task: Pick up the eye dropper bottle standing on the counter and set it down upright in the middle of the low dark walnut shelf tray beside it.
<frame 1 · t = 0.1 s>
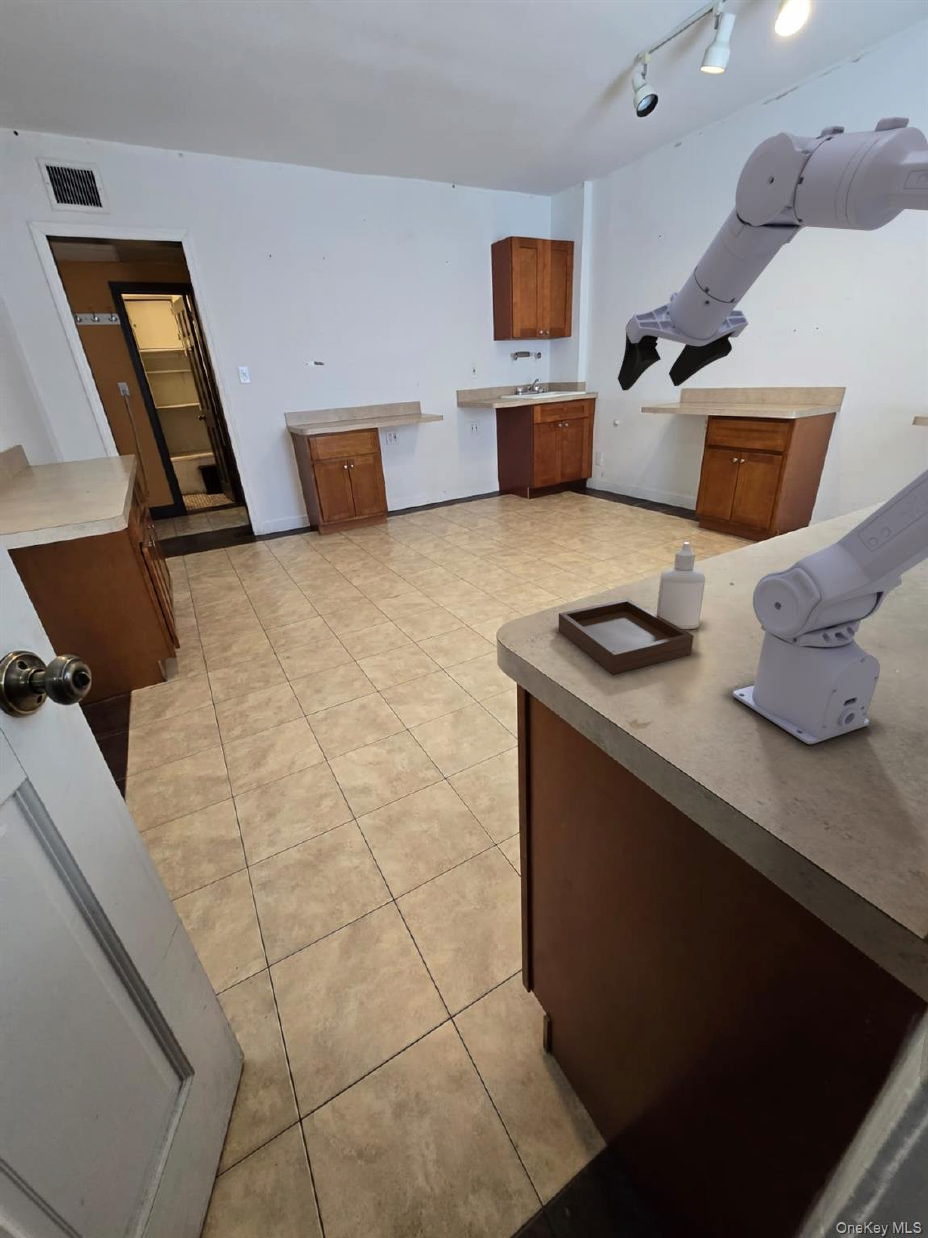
hand: (648, 381, 65), 32 cm above the countertop, tool tilted 50°, fingers open, 7 cm apart
eye dropper bottle: (676, 625, 73), on the countertop
shelf tray: (620, 641, 69), on the countertop
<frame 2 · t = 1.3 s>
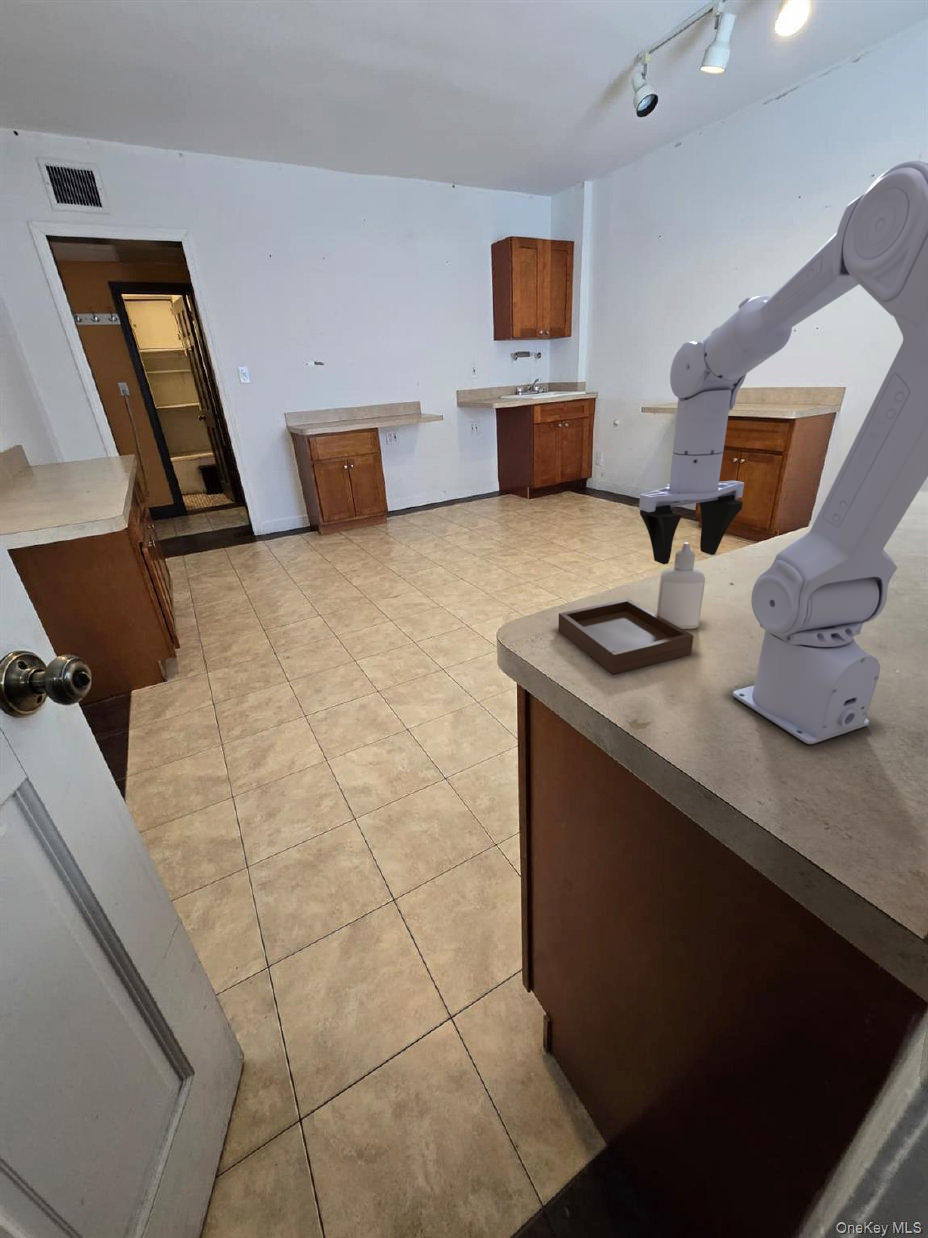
hand: (684, 557, 69), 10 cm above the countertop, tool pointing down, fingers open, 7 cm apart
nothing on the countertop moved.
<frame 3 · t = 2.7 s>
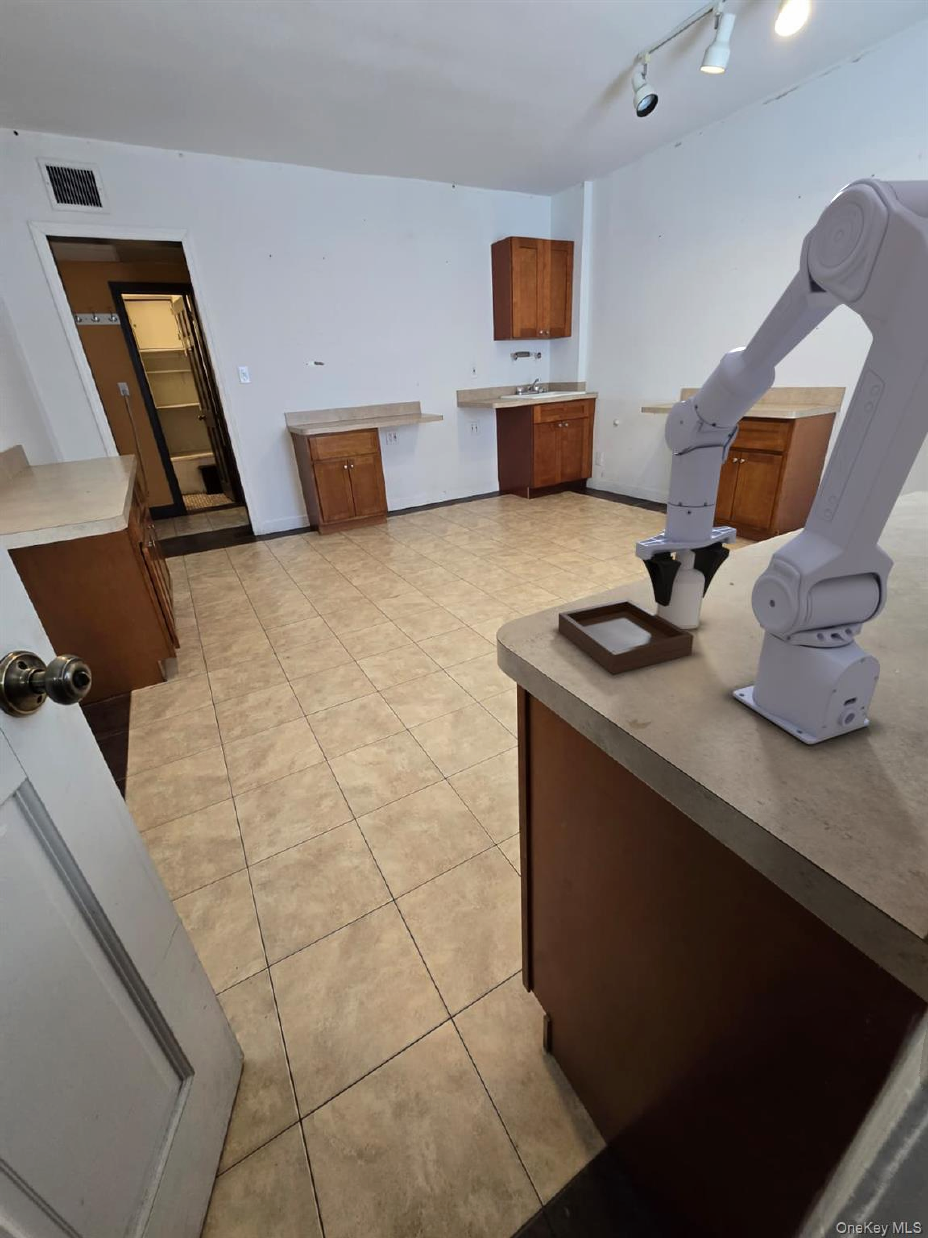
hand: (679, 599, 71), 4 cm above the countertop, tool pointing down, fingers closed on eye dropper bottle, 5 cm apart
eye dropper bottle: (676, 625, 73), on the countertop, touching gripper
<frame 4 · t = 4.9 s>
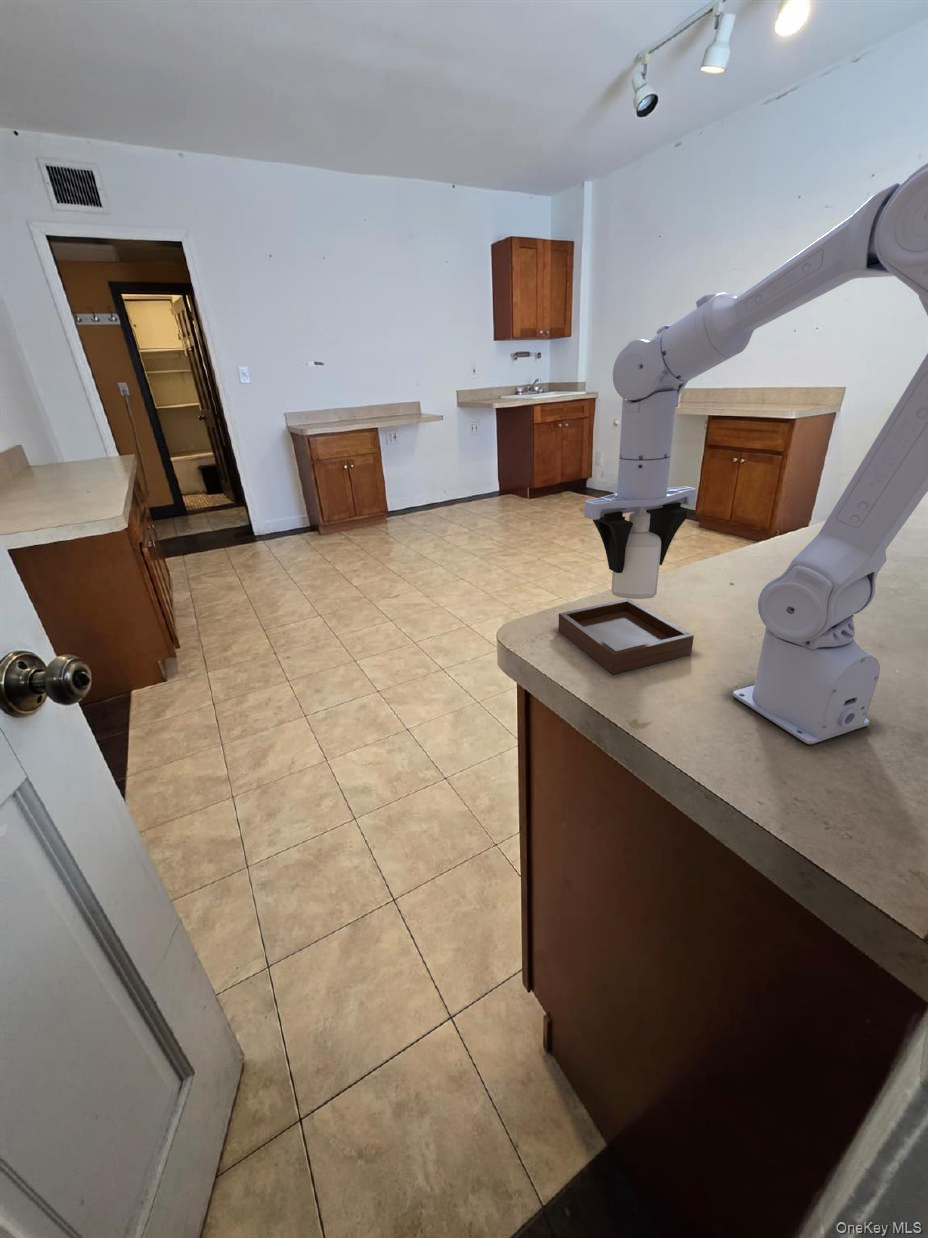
hand: (635, 566, 66), 10 cm above the countertop, tool pointing down, fingers closed on eye dropper bottle, 5 cm apart
eye dropper bottle: (633, 595, 67), point 6 cm above the countertop, touching gripper
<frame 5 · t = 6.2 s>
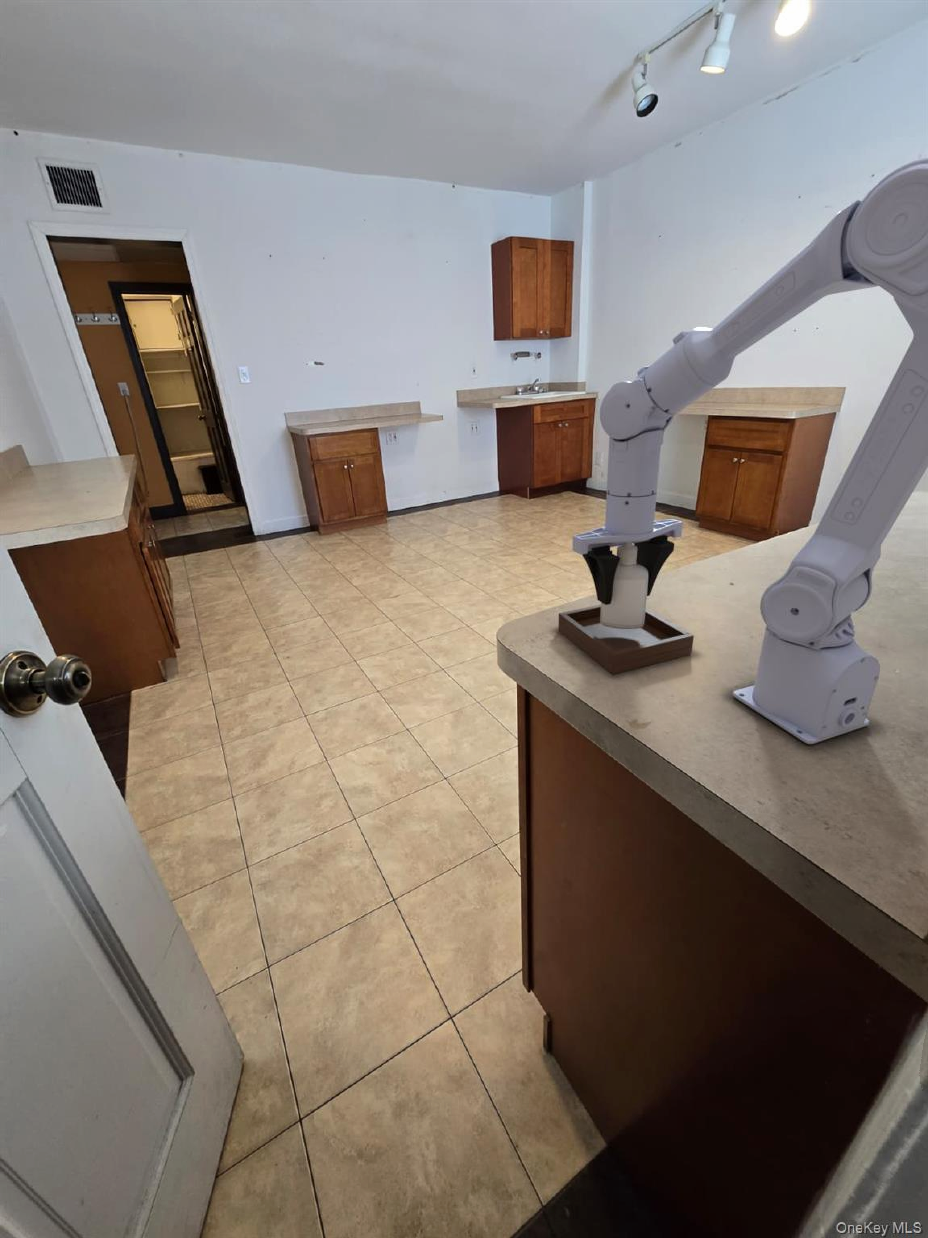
hand: (623, 597, 67), 6 cm above the countertop, tool pointing down, fingers closed on eye dropper bottle, 5 cm apart
eye dropper bottle: (621, 625, 68), point 2 cm above the countertop, touching gripper
when the fingers open (5 cm above the countertop, at t = 7.2 s): eye dropper bottle stays where it is, resting on shelf tray.
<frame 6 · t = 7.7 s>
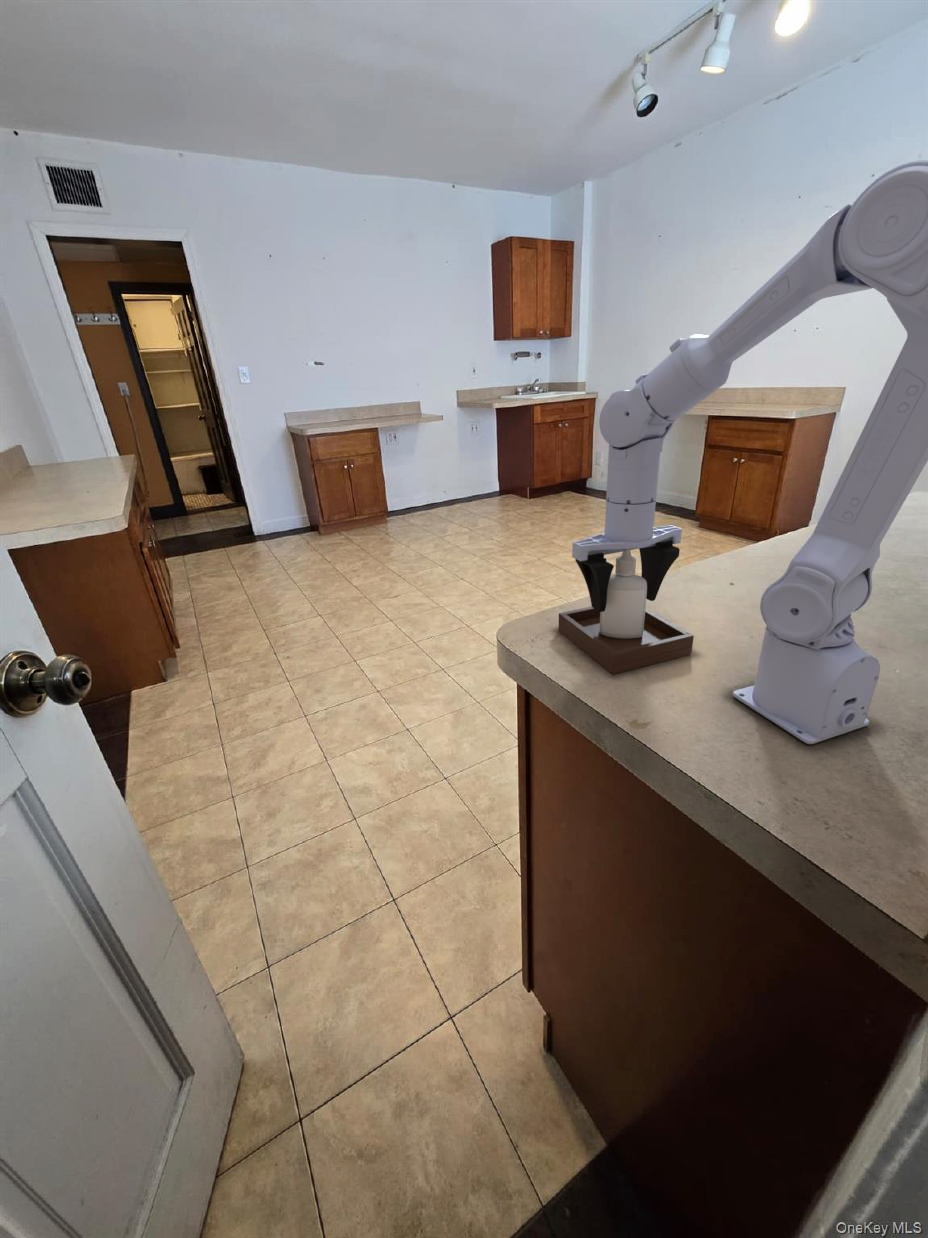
hand: (623, 603, 67), 6 cm above the countertop, tool pointing down, fingers open, 7 cm apart
eye dropper bottle: (620, 634, 69), point 1 cm above the countertop, touching shelf tray
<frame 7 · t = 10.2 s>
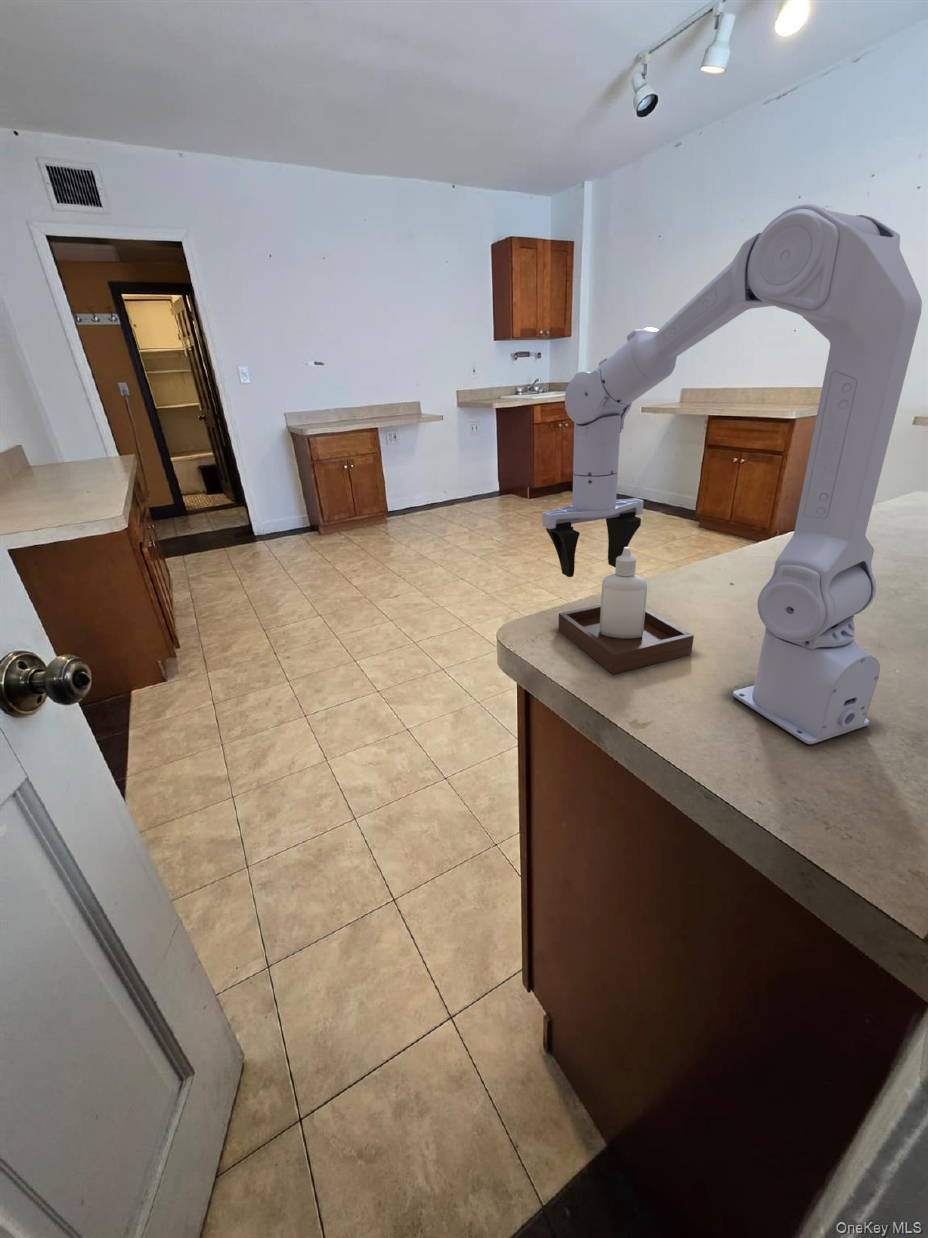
hand: (591, 570, 73), 8 cm above the countertop, tool pointing down, fingers open, 7 cm apart
nothing on the countertop moved.
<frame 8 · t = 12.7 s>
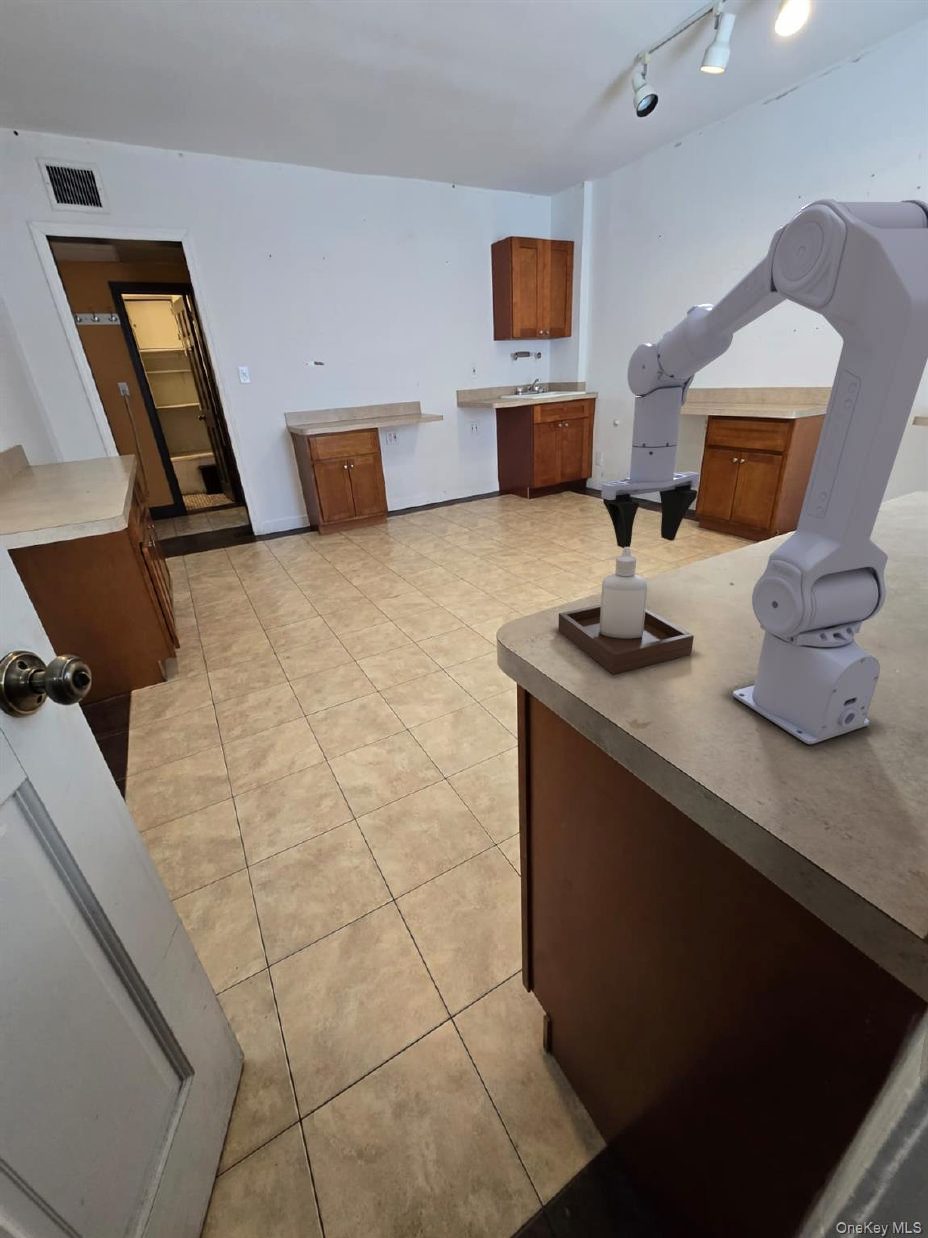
hand: (645, 542, 74), 10 cm above the countertop, tool pointing down, fingers open, 7 cm apart
nothing on the countertop moved.
at the end: eye dropper bottle inside the target area in the shelf tray (0.0 cm from its centre), point 1.0 cm above the shelf tray's base; eye dropper bottle tilted 0° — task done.
